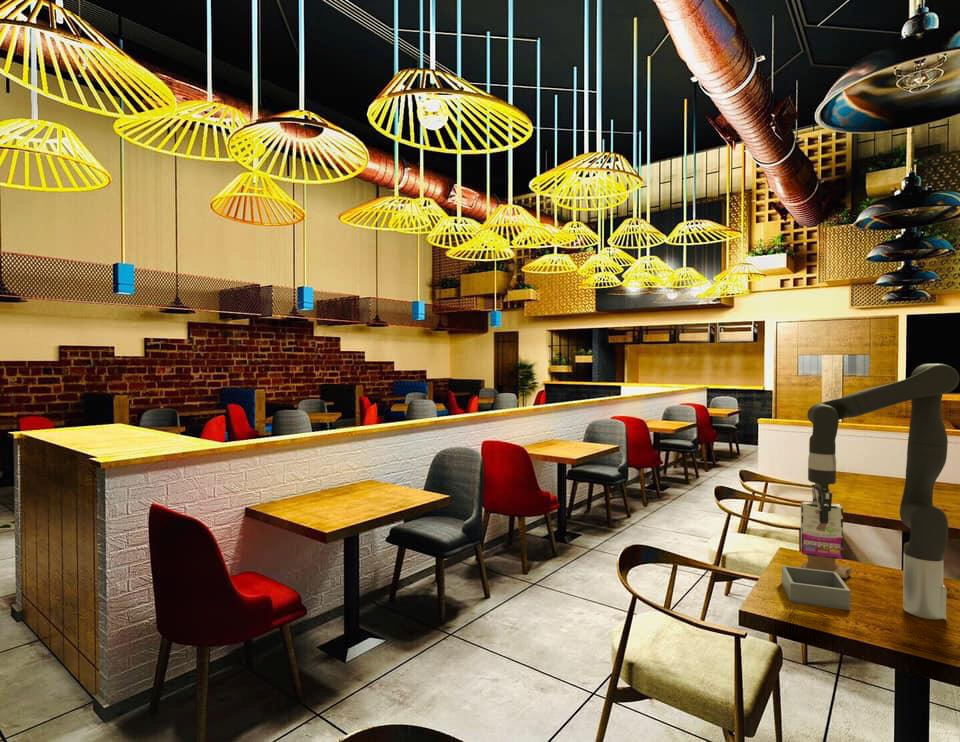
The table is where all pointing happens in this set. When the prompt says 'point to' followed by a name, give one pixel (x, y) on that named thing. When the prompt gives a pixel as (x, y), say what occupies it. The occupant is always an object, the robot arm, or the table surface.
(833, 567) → the stone cup
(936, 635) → the table surface
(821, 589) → the tote
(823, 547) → the candy bar box
